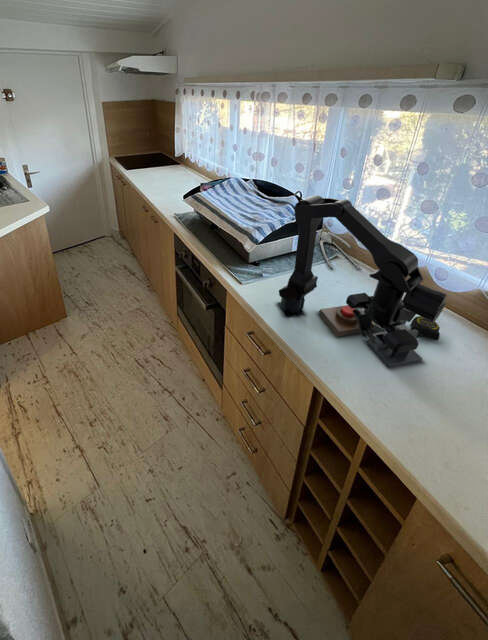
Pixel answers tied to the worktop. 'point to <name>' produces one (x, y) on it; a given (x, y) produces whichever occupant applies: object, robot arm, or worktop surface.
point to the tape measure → (426, 328)
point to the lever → (373, 336)
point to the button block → (341, 321)
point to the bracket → (397, 358)
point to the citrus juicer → (326, 238)
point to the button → (347, 311)
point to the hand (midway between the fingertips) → (370, 343)
